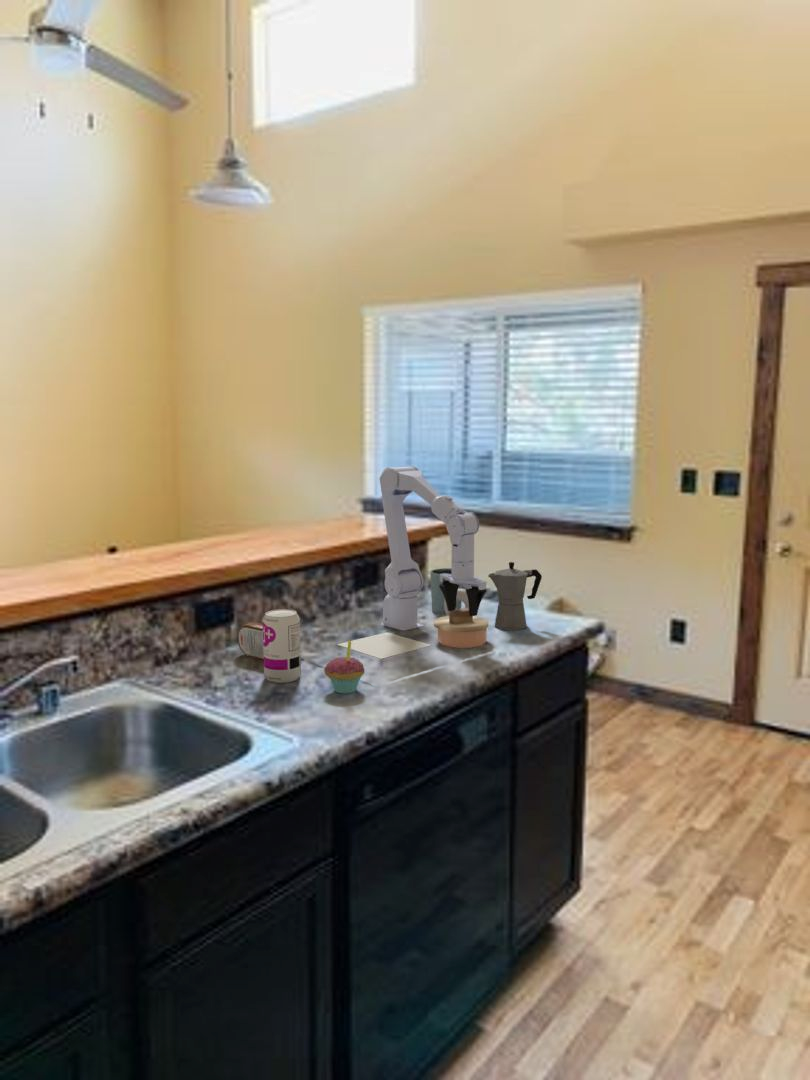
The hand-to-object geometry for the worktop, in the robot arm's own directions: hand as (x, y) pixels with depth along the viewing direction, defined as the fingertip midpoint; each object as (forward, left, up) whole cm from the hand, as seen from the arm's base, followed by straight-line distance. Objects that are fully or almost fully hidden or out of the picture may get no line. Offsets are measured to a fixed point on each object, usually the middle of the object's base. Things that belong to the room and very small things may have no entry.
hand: (462, 613), depth 219 cm
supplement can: (-8, -50, -8) cm, 51 cm away
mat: (-11, -17, -8) cm, 22 cm away
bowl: (0, 0, -8) cm, 8 cm away
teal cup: (-27, +22, -8) cm, 36 cm away
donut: (-14, +14, -8) cm, 21 cm away
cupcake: (+8, -45, -8) cm, 46 cm away
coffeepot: (-2, +23, -8) cm, 24 cm away
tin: (-24, -45, -8) cm, 52 cm away
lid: (0, 0, -3) cm, 3 cm away
